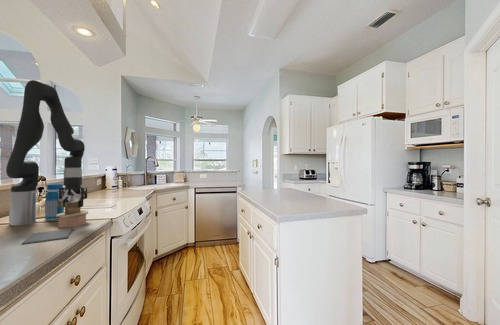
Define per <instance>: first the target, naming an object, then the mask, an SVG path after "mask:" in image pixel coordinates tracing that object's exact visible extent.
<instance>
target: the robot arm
mask: <svg viewBox="0 0 500 325" xmlns="http://www.w3.org/2000/svg"><path fill="white" fill-rule="evenodd" d="M41 102H45V104H46V105H47V106H48V108H49V111H50V123H51V125H52V127H53V128H54V131H55V132H56V134H57V138H58V142H59V143H58V144H59V146H60V147H61V148H62V149H63V151H66V152H69V155H68V156H66V157H65V158H64V165H63V167H64V168H63V169H64V170H63V187H60V188H59V199H62V200H63V207H64V208H65V203H67V202H68V200H67V199H68V198H69V197H70V196H75V197H77V199H78V208H80V209H81V208H83V207H84V200H86V199H88V189H87V187H86V186H85V187H82V185H83V168H82V159H83V157H84V153H85V147H86V145H85V143H84V141H82V139H78V138H74V137H73V134H74V132H75V130H74V129H73V127H72V124H71V123H70V121H69V119H68V118H67V116H66V114H65V111H64V109H63V105H62V103H61V100H60V97H59V94H58V91H57V90H56V88H55V87H54V86H53V85H51V84H49V83H46V82H42V81H39V80H35V79H31V80H29V81H27V82H26V84H25V86H24V91H23V102H22V109H21V115H20V120H19V122H18V127H17V131H16V136H15V140H14V144H13V148H12V150H11V152H10V156H9V159H8V161H7V164H6V168H5V169H6V170H5V173H6V176H7V177H8V178H10V179H22V180H21V181H20V182H19V183H16V184H14V185H12V186H11V187H10V206H8V207H9V208H8V212H9V213H8V225H10V226H13V227H14V226H16V227H17V226H26V225H31V224H34V223H36V222H37V220H36V218H37V217H36V215H37V187H38V184H39V176H40V175H39V173H40V168H39V167H40V166H39V164H38V163H37V162H36V161H34V160H25V159H26V157H27V154H28V153H29V152H30V150H32V149H33V148H34V147H35V146H36V145H37V144H38V143H39V142H40V141H41V140H42V138H43V134H44V129H45V124H44V121H43V119H42V116H41V113H40V106H41V105H40V103H41Z"/></svg>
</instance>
